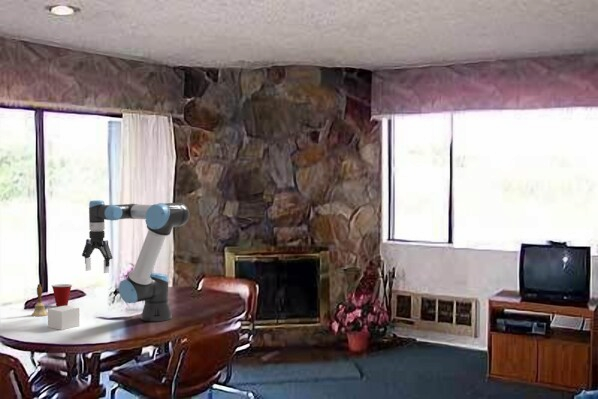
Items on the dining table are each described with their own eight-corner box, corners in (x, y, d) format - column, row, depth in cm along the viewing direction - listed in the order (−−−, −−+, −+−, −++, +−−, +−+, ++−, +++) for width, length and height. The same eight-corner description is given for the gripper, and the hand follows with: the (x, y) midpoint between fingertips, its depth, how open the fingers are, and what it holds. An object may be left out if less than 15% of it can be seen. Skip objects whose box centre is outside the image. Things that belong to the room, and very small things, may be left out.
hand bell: (42, 317, 355) (42, 286, 354) (28, 316, 357) (27, 285, 356) (51, 313, 363) (51, 283, 362) (37, 312, 365) (37, 282, 364)
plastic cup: (75, 304, 387) (75, 282, 387) (67, 308, 377) (67, 286, 376) (57, 303, 388) (56, 282, 388) (48, 307, 378) (47, 285, 377)
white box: (79, 325, 336) (79, 307, 336) (61, 330, 328) (61, 311, 327) (65, 323, 342) (65, 305, 341) (47, 327, 333) (47, 308, 333)
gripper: (74, 229, 361) (75, 270, 362) (108, 232, 348) (108, 274, 349) (86, 228, 368) (86, 268, 369) (119, 231, 354) (119, 272, 355)
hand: (97, 271), depth 359 cm, fingers open, 13 cm apart
